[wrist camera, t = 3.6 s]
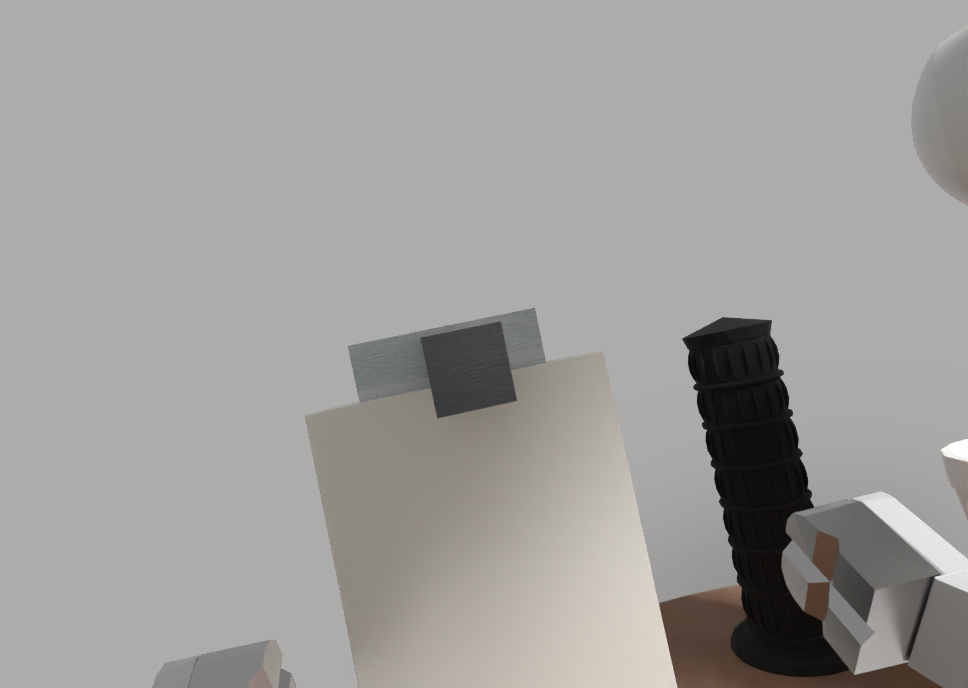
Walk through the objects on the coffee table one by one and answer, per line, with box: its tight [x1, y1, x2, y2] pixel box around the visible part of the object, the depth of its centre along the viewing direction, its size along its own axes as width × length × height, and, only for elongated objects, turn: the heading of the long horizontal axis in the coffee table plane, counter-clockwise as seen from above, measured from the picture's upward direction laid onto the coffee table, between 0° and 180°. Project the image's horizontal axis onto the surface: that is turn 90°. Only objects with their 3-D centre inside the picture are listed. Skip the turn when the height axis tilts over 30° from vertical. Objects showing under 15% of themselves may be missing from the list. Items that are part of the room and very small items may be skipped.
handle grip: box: [683, 317, 849, 676], centre depth 48 cm, size 10×26×10 cm
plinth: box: [305, 352, 677, 688], centre depth 35 cm, size 14×16×26 cm
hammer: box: [348, 308, 546, 418], centre depth 27 cm, size 10×20×3 cm, turn 5°
